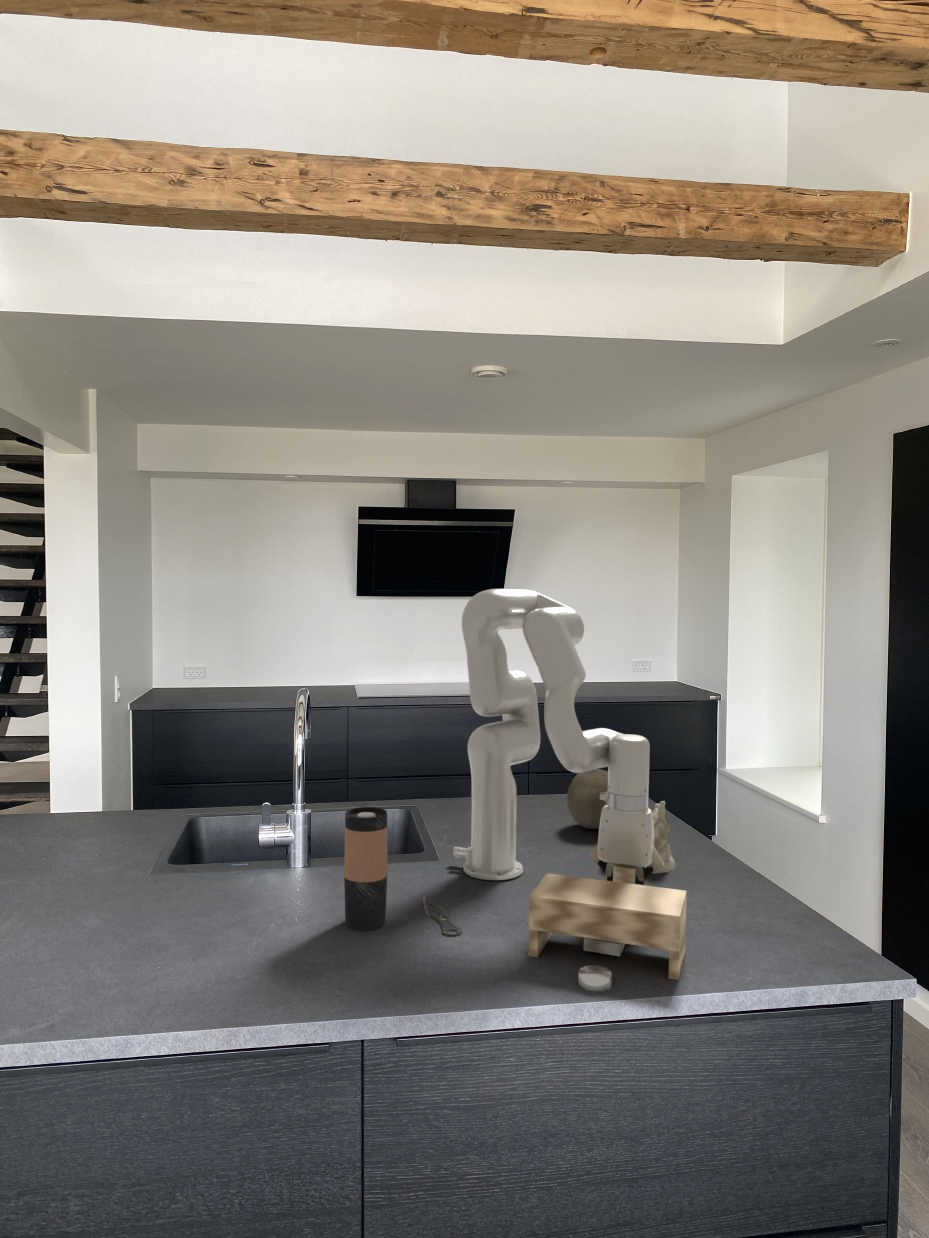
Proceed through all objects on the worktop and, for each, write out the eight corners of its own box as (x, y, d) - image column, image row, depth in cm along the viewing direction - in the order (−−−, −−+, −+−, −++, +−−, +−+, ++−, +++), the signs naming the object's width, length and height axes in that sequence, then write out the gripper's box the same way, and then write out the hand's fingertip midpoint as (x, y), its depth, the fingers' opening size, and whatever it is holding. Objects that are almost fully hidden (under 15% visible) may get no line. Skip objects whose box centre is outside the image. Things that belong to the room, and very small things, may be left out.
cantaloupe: (554, 827, 216) (555, 768, 215) (589, 818, 225) (590, 761, 225) (598, 840, 205) (599, 778, 205) (633, 829, 215) (635, 770, 214)
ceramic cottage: (671, 852, 197) (668, 787, 196) (678, 878, 181) (675, 808, 180) (602, 852, 199) (599, 789, 198) (603, 878, 183) (600, 810, 182)
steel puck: (575, 990, 129) (576, 977, 129) (581, 975, 134) (581, 963, 134) (609, 995, 128) (609, 981, 128) (613, 980, 133) (613, 967, 133)
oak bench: (528, 956, 140) (528, 896, 140) (546, 928, 152) (547, 873, 151) (678, 980, 132) (679, 916, 132) (685, 949, 144) (686, 890, 144)
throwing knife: (443, 939, 148) (443, 935, 148) (412, 898, 166) (412, 895, 166) (467, 936, 149) (467, 932, 149) (434, 896, 168) (434, 893, 168)
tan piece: (583, 950, 142) (584, 902, 141) (610, 900, 164) (611, 859, 164) (619, 956, 140) (621, 908, 139) (642, 904, 162) (643, 863, 162)
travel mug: (393, 917, 156) (394, 809, 155) (375, 933, 149) (376, 819, 148) (355, 912, 158) (356, 805, 158) (336, 927, 151) (337, 815, 150)
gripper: (579, 801, 160) (576, 897, 161) (670, 811, 154) (667, 911, 155) (587, 792, 167) (585, 884, 168) (675, 801, 161) (672, 897, 162)
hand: (625, 896), depth 161 cm, fingers closed on tan piece, 4 cm apart
